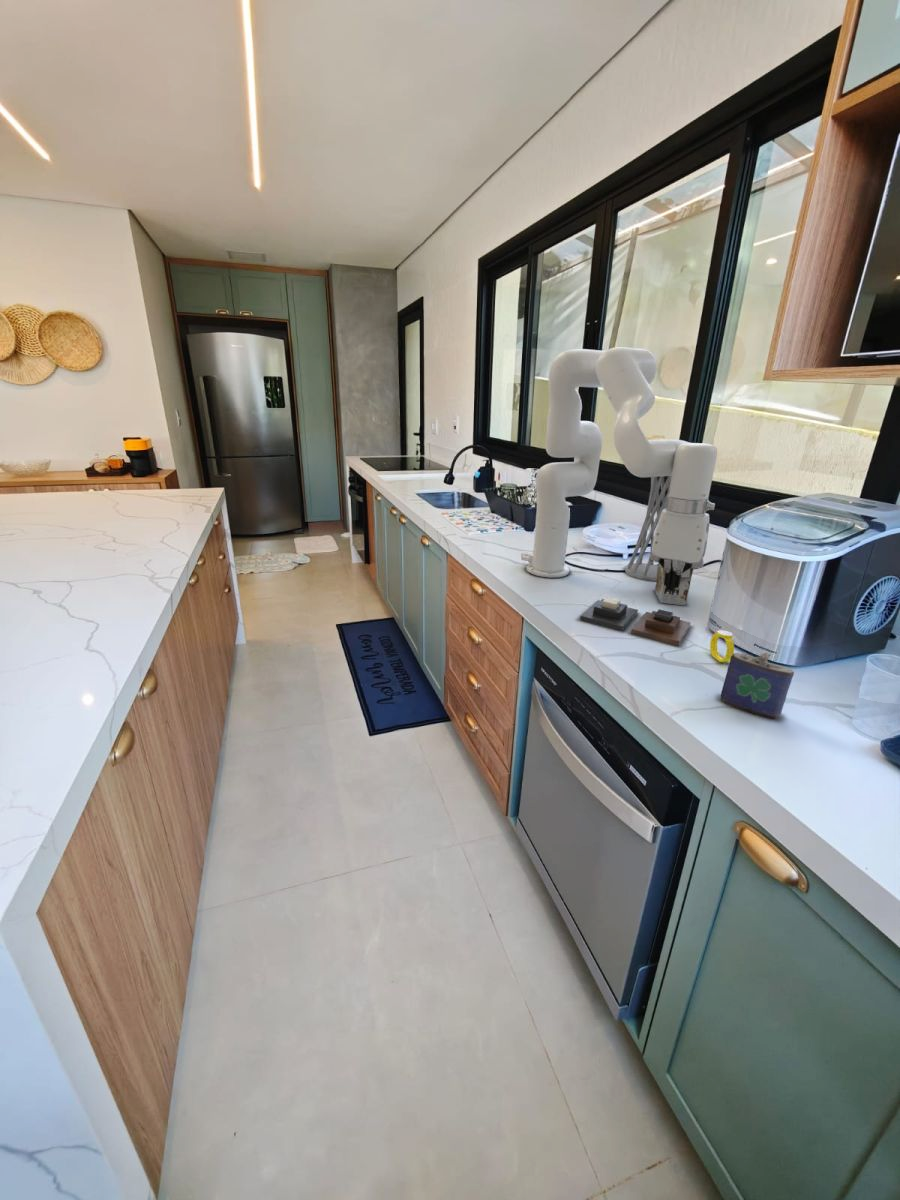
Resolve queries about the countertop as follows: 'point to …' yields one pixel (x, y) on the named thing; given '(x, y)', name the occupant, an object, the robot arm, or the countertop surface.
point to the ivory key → (611, 603)
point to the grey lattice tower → (649, 569)
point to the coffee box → (679, 593)
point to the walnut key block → (661, 629)
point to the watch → (729, 644)
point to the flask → (756, 685)
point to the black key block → (609, 615)
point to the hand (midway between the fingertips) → (670, 589)
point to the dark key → (663, 616)
